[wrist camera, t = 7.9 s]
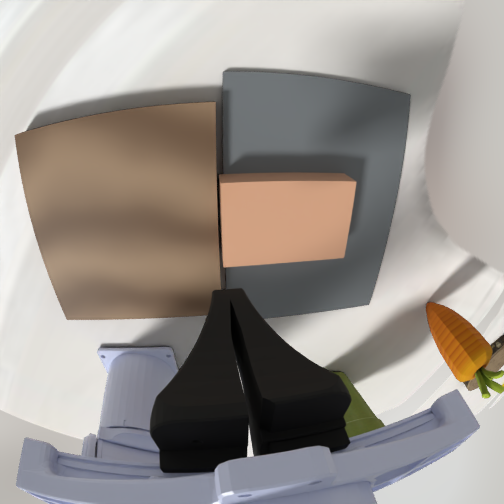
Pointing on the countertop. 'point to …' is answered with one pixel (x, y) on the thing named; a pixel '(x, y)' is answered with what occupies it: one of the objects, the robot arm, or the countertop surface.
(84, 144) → the walnut riser
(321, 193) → the terracotta tile
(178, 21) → the countertop surface
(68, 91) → the countertop surface
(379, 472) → the robot arm
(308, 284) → the charcoal mat
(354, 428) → the plant pot
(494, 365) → the round wood slice
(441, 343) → the carrot
